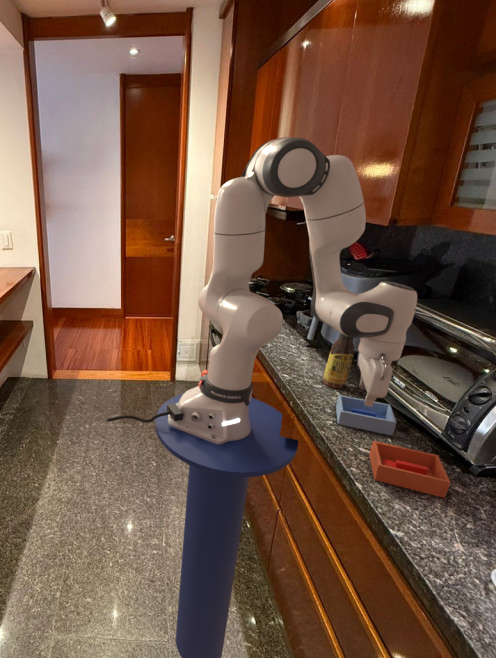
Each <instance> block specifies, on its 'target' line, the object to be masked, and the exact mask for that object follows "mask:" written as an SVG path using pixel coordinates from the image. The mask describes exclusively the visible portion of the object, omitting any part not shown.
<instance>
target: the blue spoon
mask: <svg viewBox="0 0 496 658" xmlns="http://www.w3.org/2000/svg"><path fill="white" fill-rule="evenodd" d="M351 412H352V413H357V414H361V415H366V416H371V417H376V418H381V419H386V418H384V417H383V416H380V415H377V414H376V412H372V411H367V410H362V409H357V408H352V410H351Z"/></svg>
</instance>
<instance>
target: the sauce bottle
mask: <svg viewBox="0 0 496 658" xmlns="http://www.w3.org/2000/svg"><path fill="white" fill-rule="evenodd" d="M354 353H355V344H354V338H351V337H348V336H346V335H344V334H342V333H341V332H339V335H338V338H337V339H336V340H334V342H333V344H332V345H331V349H330V352H329V355H328V359H327V362H326V366H325V370H324V374H323V382H322V383H323V384H324V385H325V386H326V387H330V388H333V389H342V388H344V386H345V384H346V383H347V380H348V376H349V373H350V369H351V365H352V361H353V359H354Z"/></svg>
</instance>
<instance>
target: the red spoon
mask: <svg viewBox="0 0 496 658" xmlns="http://www.w3.org/2000/svg"><path fill="white" fill-rule="evenodd" d="M382 465H386V466H390V467H394V468H398V469H403V470H407V471H411V472H415V473H419V474H423V475H427V473H428V468H427V467H426V466H421V465H417V464H413V463H408V462H404V461H400V460H396V462H393V461H391V460H383V461H382Z"/></svg>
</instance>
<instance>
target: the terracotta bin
mask: <svg viewBox="0 0 496 658" xmlns="http://www.w3.org/2000/svg"><path fill="white" fill-rule="evenodd" d="M368 456H369V460H370V464H371V465H370V466H371V470H372V475H373V479H374V481H376V482H382V483H385V484H389V485H393V486H397V487H401V488H405V489H408V490H413V491H416V492H420V493H423V494H427V495H433V496H435V497H439V498H443V499H445V498H446V495H447V493H448V490H449V489H450V486H451V480H450V478H449V476H448V474H447V472H446V469H445V467H444V466H443V462H442V461H441V458H440V457H439V454H435V453H430V452H425V451H421V450H416V449H412V448H407V447H402V446H398V445H394V444H389V443H384V442H380V441H375V440H373V441H372V444H371V447H370V451H369V455H368ZM383 460H391V461H393V462H396V460H400V461H404V462H408V463H413V464H417V465H421V466H426V467H427V468H428V473H427V475H423V474H419V473H415V472H411V471H407V470H403V469H398V468H394V467H390V466H386V465H382V461H383Z"/></svg>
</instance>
